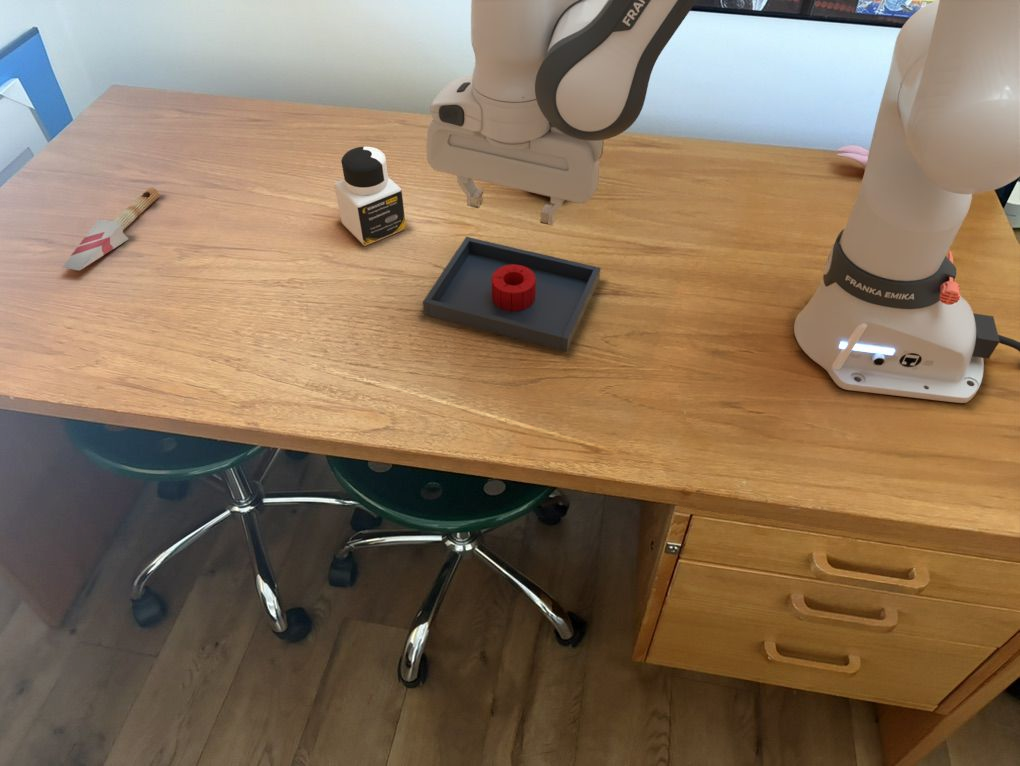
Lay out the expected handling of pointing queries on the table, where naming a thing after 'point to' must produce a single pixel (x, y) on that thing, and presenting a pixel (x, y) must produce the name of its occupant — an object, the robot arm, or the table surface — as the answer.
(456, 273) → the tray
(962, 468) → the table surface
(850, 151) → the rabbit figure
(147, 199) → the garden trowel
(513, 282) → the ring
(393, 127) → the table surface
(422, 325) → the table surface
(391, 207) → the medicine bottle
